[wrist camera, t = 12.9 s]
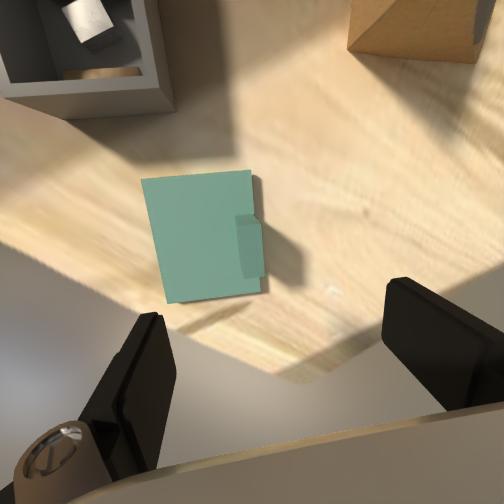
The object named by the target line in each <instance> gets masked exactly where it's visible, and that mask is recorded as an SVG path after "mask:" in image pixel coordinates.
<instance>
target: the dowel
mask: <svg viewBox="0 0 504 504" xmlns="http://www.w3.org/2000/svg"><path fill="white" fill-rule="evenodd" d="M130 76H143V74H142V72H141V70H140V68H139V67H120V68H102V69H85V70H67V71H63V81H64V80H80V79H97V78H114V77H130Z"/></svg>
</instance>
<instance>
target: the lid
mask: <svg viewBox="0 0 504 504" xmlns="http://www.w3.org/2000/svg"><path fill="white" fill-rule="evenodd" d="M141 183H142V187H143V192H144V197H145V201H146V206H147V211H148V215H149V220H150V225H151V229H152V234H153V239H154V244H155V248H156V253H157V258H158V262H159V267H160V272H161V276H162V281H163V286H164V291H165V295H166V300H167V304H172V303H179V302H187V301H194V300H202V299H210V298H217V297H225V296H232V295H240V294H248V293H255V292H261V289H260V277H264V276H265V269H264V255H263V242H262V228H261V223H260V222H259V220H258V219H257V218H256V217H255V214H254V201H253V189H252V176H251V170H242V171H230V172H218V173H207V174H195V175H183V176H172V177H160V178H148V179H141Z"/></svg>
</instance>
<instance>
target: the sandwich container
mask: <svg viewBox="0 0 504 504" xmlns="http://www.w3.org/2000/svg"><path fill="white" fill-rule="evenodd" d="M495 2H496V0H352V8H351V17H350V26H349V34H348V43H347V50H348V51H351V52H358V53H365V54H372V55H379V56H387V57H394V58H401V59H416V60H430V61H444V62H458V63H473V64H476V63H477V61H478V58H479V54H480V51H481V48H482V45H483V41H484V38H485V35H486V32H487V28H488V25H489V22H490V19H491V15H492V12H493V9H494V6H495Z"/></svg>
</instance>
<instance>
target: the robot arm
mask: <svg viewBox="0 0 504 504" xmlns="http://www.w3.org/2000/svg"><path fill="white" fill-rule="evenodd" d="M381 337H382V340H383V342H384V344H385V345H386V346H387V347H388V348H389V349H390V350H391V351H392V352H393V354H395V356H396V357H397V358H398V359H399V360H400V361H401V362H402V363H403V364H404V365H405V366H406V367H407V369H408V370H409V371H410V372H411V373H412V374H413V375H414V376H415V377H416V378H417V379H418V380H419V382H421V384H422V385H423V386H424V387H425V388H426V389H427V390H428V391H429V392H430V393H431V394H432V395H433V396H434V398H435V399H436V400H437V401H438V402H439V403H440V404H441V405H442V406H443V407H444V408H445V409H446V410H447V412H443V413H438V414H431V415H426V416H421V417H416V418H410V419H404V420H399V421H394V422H389V423H384V424H378V425H373V426H367V427H362V428H357V429H352V430H347V431H341V432H336V433H331V434H326V435H321V436H315V437H310V438H305V439H300V440H295V441H290V442H285V443H279V444H274V445H269V446H264V447H259V448H255V449H249V450H244V451H239V452H234V453H229V454H224V455H219V456H214V457H210V458H205V459H200V460H196V461H191V462H187V463H182V464H177V465H173V466H168V467H163V468H159V469H156V467H157V463H158V458H159V454H160V449H161V445H162V440H163V435H164V431H165V426H166V421H167V417H168V412H169V408H170V403H171V398H172V394H173V390H174V385H175V380H176V366H175V362H174V358H173V353H172V349H171V346H170V341H169V338H168V334H167V329H166V325H165V321H164V318H163V315H158V313H157V312H151V313H144V314H140V316H139V318H138V319H137V321H136V323H135V325H134V326H133V328H132V330H131V332H130V334H129V335H128V337H127V339H126V341H125V342H124V344H123V346H122V348H121V350H120V352H118V353H117V354H116V355H115V356H114V357H113V360H112V361H111V363H110V364H109V366H108V368H107V370H106V371H105V373H104V375H103V377H102V378H101V380H100V382H99V384H98V385H97V387H96V389H95V391H94V392H93V394H92V396H91V398H90V399H89V401H88V403H87V405H86V406H85V408H84V410H83V411H82V413H81V415H80V417H79V418H78V420H77V421H68V422H66V423H63V424H60V425H58V426H56V427H54V428H53V429H50V430H49V431H48V432H46V433H45V434H43V435H42V436H41V437H39V438H38V439H37V440H36V441H35V442H34V443H33V444H32V445H31V446H30V447H29V448H28V449H27V450H26V451H25V453H24V454H23V455H22V457H21V458H20V459H19V461H18V464H17V466H16V468H15V470H14V477H13V482H11V483H10V484H9V485H7V486H6V487H5V488H3V489H2V490H1V491H0V504H504V333H503V332H501V331H499V330H498V329H496V328H494V327H493V326H491V325H489V324H487V323H486V322H484V321H482V320H481V319H479V318H477V317H475V316H474V315H472V314H470V313H468V312H467V311H465V310H463V309H462V308H460V307H458V306H457V305H455V304H453V303H451V302H450V301H448V300H446V299H445V298H443V297H441V296H439V295H438V294H436V293H434V292H433V291H431V290H429V289H427V288H426V287H424V286H422V285H421V284H419V283H417V282H415V281H414V280H412V279H410V278H408V277H400V278H393V279H391V280H390V282H389V283H388V284H387V287H386V296H385V305H384V315H383V324H382V333H381Z"/></svg>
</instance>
